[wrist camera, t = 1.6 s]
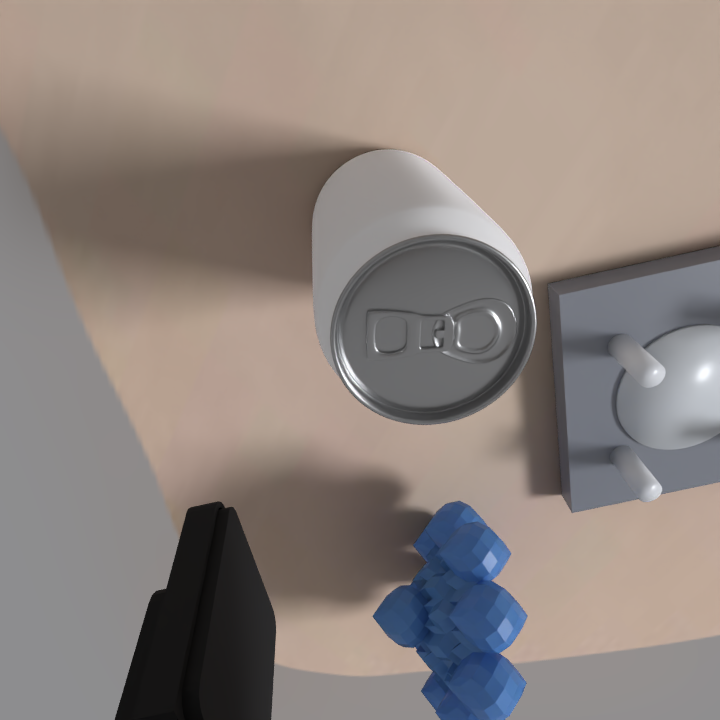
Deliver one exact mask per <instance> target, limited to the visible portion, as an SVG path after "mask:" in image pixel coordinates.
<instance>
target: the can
mask: <svg viewBox="0 0 720 720" xmlns="http://www.w3.org/2000/svg"><path fill="white" fill-rule="evenodd" d="M312 275H313V306H314V319H315V327H316V332H317V336H318V339H319V343H320V346H321V348H322V351H323V353H324V355H325V357H326V359H327V361H328V363H329V364H330V366H331V367H332V369H333V370H334V371H335V373H336V374H337V375H338V376H339V377H340V378H341V380H342V382H343V383H344V385H345V386H346V388H347V389H348V390H349V392H350V393H351V394H352V395H353V396H354V397H355V398H356V399H357V400H358V401H359V402H360V403H362V404H363V405H364V406H366V407H367V408H369V409H370V410H372V411H373V412H375V413H377V414H379V415H381V416H383V417H386V418H388V419H391V420H395V421H398V422H403V423H408V424H418V425H431V424H441V423H447V422H451V421H455V420H459V419H462V418H464V417H467V416H469V415H472V414H474V413H476V412H478V411H480V410H482V409H483V408H485V407H487V406H488V405H490V404H491V403H493V402H494V401H495V400H497V399H498V398H499V397H500V396H501V395H502V394H504V393H505V392H506V391H507V390H508V389H509V388H510V386H511V385H512V384H513V383H514V382H515V380H516V379H517V378H518V376H519V375H520V373H521V372H522V370H523V369H524V367H525V365H526V363H527V361H528V359H529V356H530V354H531V351H532V348H533V345H534V341H535V335H536V326H537V317H536V307H535V302H534V298H533V295H532V285H531V280H530V276H529V272H528V269H527V266H526V264H525V262H524V259H523V257H522V255H521V254H520V252H519V250H518V249H517V247H516V245H515V244H514V243H513V241H512V240H511V239H510V237H509V236H508V235H507V234H506V233H505V232H504V231H503V230H502V228H501V227H500V226H499V225H498V224H497V223H496V222H495V221H494V220H493V219H492V218H491V217H490V216H488V215H487V214H486V213H485V212H484V211H483V210H482V209H481V208H480V207H479V206H478V205H477V204H476V203H475V202H474V201H473V200H472V199H471V198H469V197H468V196H467V195H466V194H465V193H464V192H463V191H462V190H461V189H460V188H459V187H458V186H457V185H456V184H454V183H453V182H452V181H451V180H450V179H449V178H448V177H447V176H446V175H445V174H444V173H442V172H441V171H440V170H439V169H438V168H437V167H435V166H434V165H433V164H431V163H430V162H429V161H427V160H425V159H424V158H422V157H420V156H418V155H415V154H412V153H409V152H406V151H401V150H393V149H384V150H376V151H371V152H367V153H364V154H361V155H359V156H357V157H355V158H353V159H351V160H349V161H348V162H346V163H345V164H343V165H342V166H341V167H339V168H338V169H337V170H336V171H335V172H334V173H333V174H332V175H331V176H330V178H329V179H328V180H327V182H326V183H325V185H324V186H323V188H322V190H321V192H320V194H319V196H318V198H317V201H316V204H315V208H314V212H313V220H312Z"/></svg>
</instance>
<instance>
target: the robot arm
mask: <svg viewBox="0 0 720 720" xmlns="http://www.w3.org/2000/svg"><path fill="white" fill-rule="evenodd" d="M275 639H276V622H275V615H274V611H273V608H272V605H271V603H270V600H269V597H268V595H267V592H266V589H265V587H264V584H263V582H262V579H261V576H260V574H259V571H258V568H257V566H256V563H255V560H254V558H253V555H252V552H251V550H250V547H249V545H248V542H247V539H246V537H245V534H244V531H243V529H242V526H241V523H240V521H239V518H238V515H237V513H236V511H235V509H234V508H233V507H229V508H225V507H224V505H223V504H222V502H219V501H218V502H214V503H209V504H205V505H200V506H195V507H191V508H189V509H188V511H187V513H186V517H185V521H184V525H183V528H182V532H181V536H180V540H179V543H178V547H177V551H176V555H175V559H174V562H173V566H172V570H171V573H170V577H169V581H168V585H167V588H166V589H163V590H158V591H156V592H155V593H154V594H153V595H152V597H151V599H150V602H149V604H148V608H147V611H146V615H145V618H144V622H143V625H142V628H141V632H140V635H139V639H138V642H137V646H136V649H135V652H134V656H133V659H132V662H131V666H130V669H129V673H128V676H127V679H126V683H125V686H124V690H123V693H122V697H121V700H120V703H119V707H118V710H117V714H116V717H115V720H271V712H272V694H273V693H272V692H273V676H274V657H275Z"/></svg>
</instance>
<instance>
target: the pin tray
mask: <svg viewBox="0 0 720 720" xmlns="http://www.w3.org/2000/svg"><path fill="white" fill-rule="evenodd" d="M548 295H549V310H550V325H551V340H552V354H553V369H554V384H555V399H556V414H557V429H558V444H559V458H560V473H561V488H562V496H563V498H564V500H565V501H566V503H567V505H568V507H569V508H570V510H571V512H572V513H574V512H579V511H584V510H589V509H593V508H598V507H603V506H608V505H612V504H617V503H622V502H627V501H631V500H636V499H639V500H641V501H643V502H650V501H653V500H655V499H656V498H658V497H659V496H660V494H665V493H670V492H674V491H679V490H684V489H689V488H694V487H698V486H703V485H708V484H713V483H717V482H720V246H717V247H713V248H708V249H704V250H699V251H695V252H690V253H685V254H681V255H676V256H672V257H667V258H663V259H658V260H654V261H649V262H644V263H640V264H635V265H631V266H626V267H622V268H617V269H613V270H608V271H603V272H599V273H594V274H590V275H585V276H581V277H576V278H572V279H567V280H562V281H558V282H553V283H549V284H548Z"/></svg>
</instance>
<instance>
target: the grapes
mask: <svg viewBox="0 0 720 720" xmlns="http://www.w3.org/2000/svg"><path fill="white" fill-rule="evenodd" d="M413 546H414V547H415V548H416V550H417V551H418V552H419V554H420V555H421V556H422V557H423V559H424V560H425V561H426V562H427V563H426V564H425V565H424V566H423V567H422V569H421V570H420V571H419V572H418V573H417V575H416V576H415V578H414V579H413V582H412V583H411V585H403V586H399V587H398V588H396V589H395V590H393V591H392V592H391V593H390V594H389V595H387V596H386V598H385V599H384V601H383V602H382V603H381V605H380V606H379V608H378V609H377V611H376V612H375V613H374V615H373V618H374V619H375V620H376V622H377V623H378V624H379V625H380V627H381V628H382V629H383V631H384V632H385V633H386V634H387V636H388V637H389V638H391V639H392V640H393V641H394V642H396V643H397V644H398V645H400V646H402V647H411V648H414V647H416V649H417V651H416V652H417V653H418V655H419V656H420V657H421V658H422V660H423V661H424V662H425V663H426V664H427V666H428V667H429V668H430V669H431V670H432V671H433V672H432V674H431V675H430V677H429V678H428V680H427V681H426V683H425V685H424V687H423V688H422V690H421V692H422V693H423V694H424V696H425V697H426V698H427V700H428V701H429V702H430V704H431V705H432V706H433V707H434V709H435V710H436V714H437V715H438V716H439V718H440V719H441V720H505V718H507V717H508V716H510V714H511V712H512V711H513V709H514V707H515V706H516V704H517V703H518V701H519V699H520V697H521V696H522V693H523V691H524V688H525V685H526V681H525V680H524V679H523V677H522V676H521V675H520V673H519V672H518V671H517V669H516V668H515V667H514V666H513V665H512V664H511V662H510V661H509V660H508V659H507V658H505V657H504V656H502V655H501V654H499V653H500V652H502V651H503V650H505V649H506V648H508V647H509V646H510V645H511V644H512V643H513V641H514V640H515V638H516V637H517V635H518V634H519V632H520V631H521V629H522V627H523V625H524V623H525V621H526V618H527V614H526V613H525V611H524V610H523V609H522V607H521V606H520V604H519V603H518V602H517V601H516V600H515V599H514V598H513V597H512V596H511V594H510V593H509V592H508V591H506V590H505V589H504V588H503V587H501V586H499V585H497V584H496V583H494V582H492V581H491V580H493V579H494V578H495V577H496V576H497V575H499V573H500V572H501V570H502V569H503V567H504V566H505V564H506V563H507V561H508V559H509V557H510V555H511V552H510V551H509V549H508V548H507V546H506V545H505V544H504V542H503V541H502V540H501V539H500V538H499V537H498V536H497V535H496V534H495V533H494V532H493V531H492V530H491V528H490V527H488V526H487V525H486V523H485V522H484V520H483V519H482V518H481V517H480V516H479V515H478V514H477V513H476V512H475V511H474V510H473V509H472V508H471V506H469V505H467V504H465V503H463V502H461V501H456V502H451V503H448V504H445V505H444V506H443V507H442V508H441V509H439V510H438V511H437V512H436V514H435V515H434V516H433V518H432V519H431V521H430V522H429V523H428V525H427V526H426V528H425V529H424V531H423V532H422V534H421V535H420V536H419V538H418V539H417V541H416V542H415V544H414V545H413Z"/></svg>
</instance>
